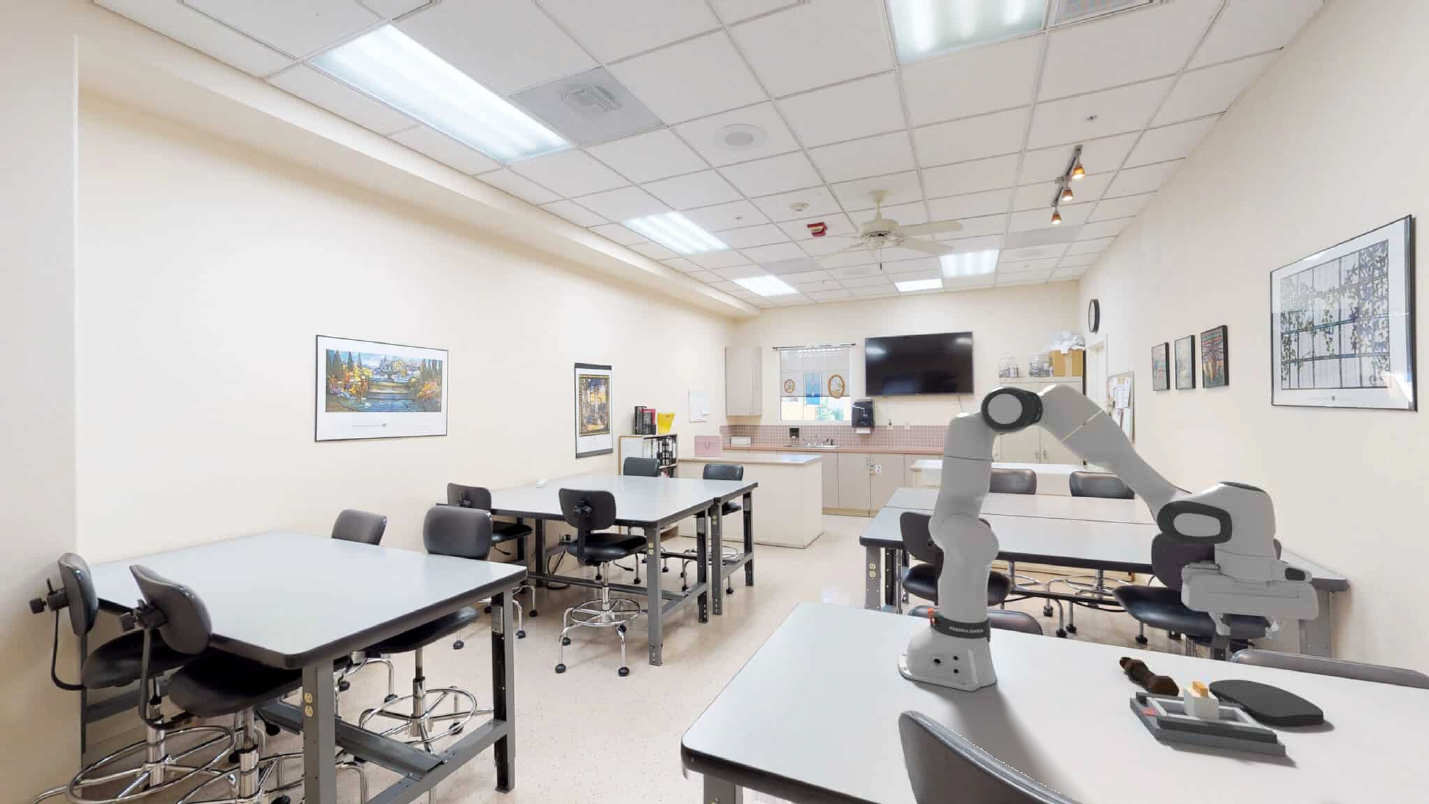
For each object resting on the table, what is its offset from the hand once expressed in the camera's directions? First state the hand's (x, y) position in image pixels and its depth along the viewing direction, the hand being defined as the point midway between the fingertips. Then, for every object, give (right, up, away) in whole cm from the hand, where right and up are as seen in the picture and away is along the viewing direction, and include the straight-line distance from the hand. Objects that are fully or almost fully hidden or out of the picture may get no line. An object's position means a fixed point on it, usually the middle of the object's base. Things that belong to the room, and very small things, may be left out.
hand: (1248, 636), depth 108 cm
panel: (-7, -20, +2) cm, 21 cm away
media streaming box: (+13, -20, +10) cm, 26 cm away
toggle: (-7, -17, +2) cm, 19 cm away
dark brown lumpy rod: (-4, -20, +20) cm, 29 cm away
